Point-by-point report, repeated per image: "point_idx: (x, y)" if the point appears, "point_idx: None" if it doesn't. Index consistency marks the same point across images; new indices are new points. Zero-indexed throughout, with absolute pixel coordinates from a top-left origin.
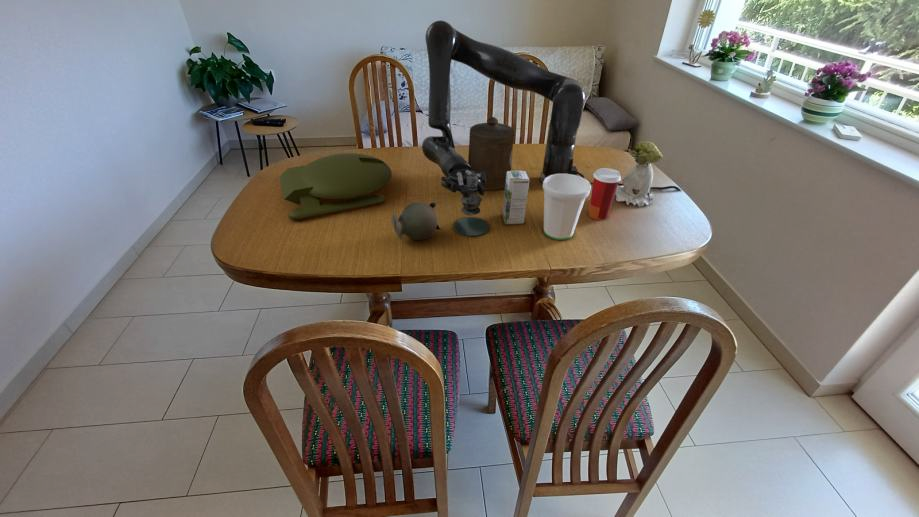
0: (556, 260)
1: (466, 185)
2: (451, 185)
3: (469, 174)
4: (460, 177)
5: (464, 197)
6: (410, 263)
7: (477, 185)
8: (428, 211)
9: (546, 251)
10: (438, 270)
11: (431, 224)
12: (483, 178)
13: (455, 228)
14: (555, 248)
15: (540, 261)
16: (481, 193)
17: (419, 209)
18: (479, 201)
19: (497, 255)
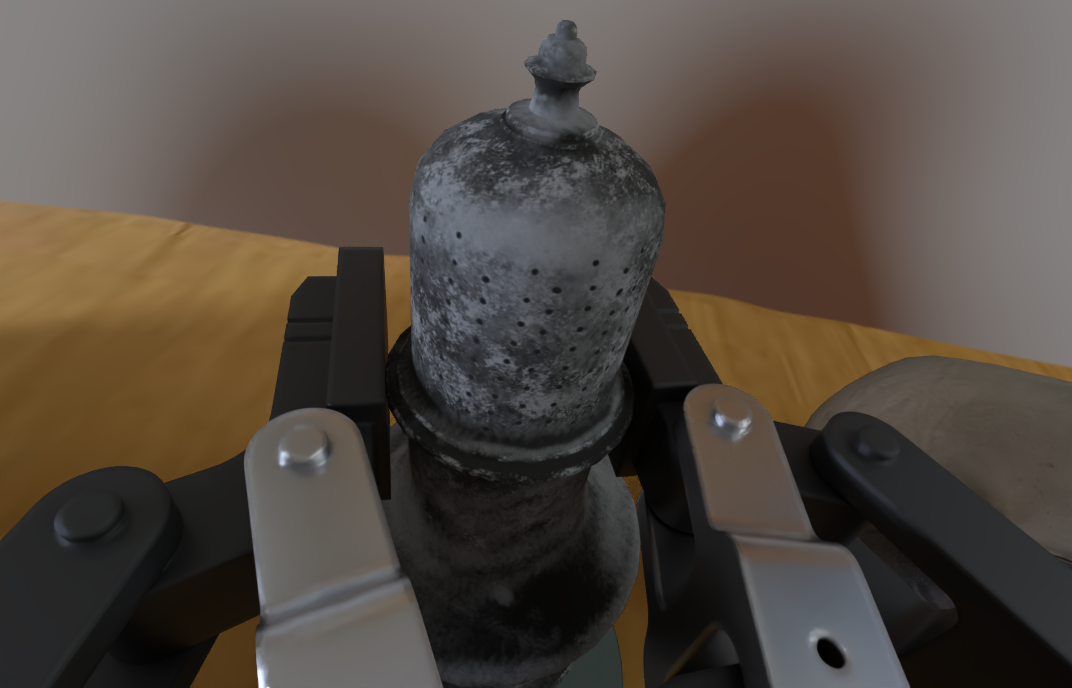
0: (116, 242)
1: (614, 404)
2: (915, 654)
3: (622, 162)
4: (812, 635)
5: (597, 512)
6: (831, 367)
7: (392, 386)
8: (939, 372)
9: (97, 296)
10: (693, 307)
11: (841, 389)
12: (84, 539)
13: (611, 640)
14: (15, 304)
15: (203, 253)
16: (386, 309)
17: (1035, 374)
18: (401, 430)
19: (393, 327)
